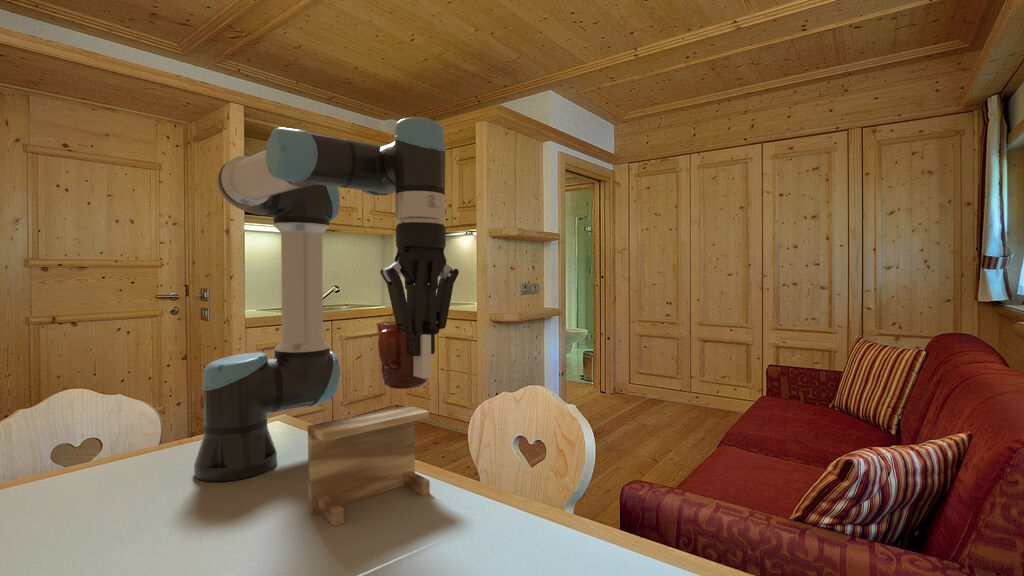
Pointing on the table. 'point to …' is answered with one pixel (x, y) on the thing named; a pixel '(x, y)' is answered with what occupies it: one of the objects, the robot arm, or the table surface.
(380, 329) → the mug
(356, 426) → the wooden standing sign
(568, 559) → the table surface
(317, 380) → the robot arm
